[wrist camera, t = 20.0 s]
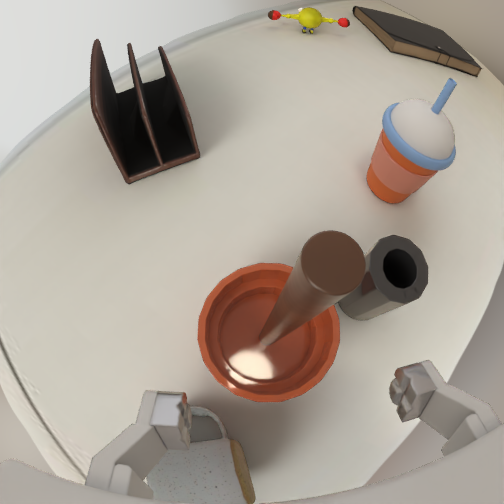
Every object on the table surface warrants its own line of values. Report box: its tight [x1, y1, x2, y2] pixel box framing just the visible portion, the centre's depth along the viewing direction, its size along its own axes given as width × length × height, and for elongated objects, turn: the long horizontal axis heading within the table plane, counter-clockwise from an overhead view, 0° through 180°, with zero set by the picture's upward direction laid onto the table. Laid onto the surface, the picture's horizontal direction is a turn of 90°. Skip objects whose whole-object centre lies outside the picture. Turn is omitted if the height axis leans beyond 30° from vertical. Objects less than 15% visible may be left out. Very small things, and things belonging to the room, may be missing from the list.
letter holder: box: [90, 39, 200, 184], centre depth 31 cm, size 10×20×14 cm, turn 22°
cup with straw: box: [367, 78, 457, 203], centre depth 26 cm, size 9×9×18 cm
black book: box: [353, 6, 482, 77], centre depth 53 cm, size 33×4×24 cm
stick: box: [259, 231, 366, 345], centre depth 17 cm, size 2×2×22 cm
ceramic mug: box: [146, 406, 255, 504], centre depth 20 cm, size 11×8×8 cm
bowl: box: [198, 263, 340, 402], centre depth 25 cm, size 11×11×6 cm
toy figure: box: [268, 8, 350, 34], centre depth 46 cm, size 18×6×7 cm, turn 93°
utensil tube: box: [338, 235, 428, 320], centre depth 25 cm, size 6×6×9 cm
